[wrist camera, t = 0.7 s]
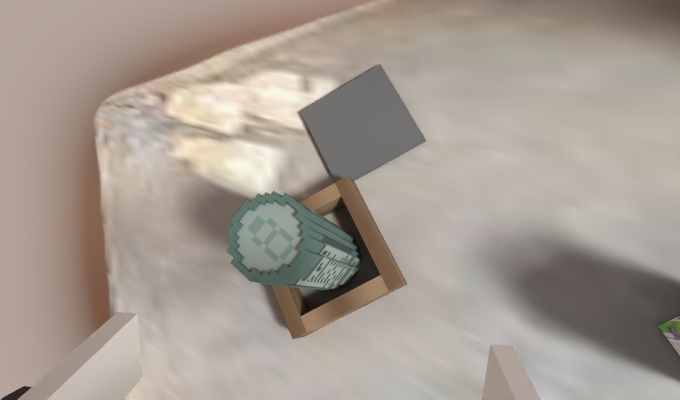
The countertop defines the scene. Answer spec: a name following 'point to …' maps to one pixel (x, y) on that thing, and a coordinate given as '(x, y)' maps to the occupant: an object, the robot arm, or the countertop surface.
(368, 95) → the mat
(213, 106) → the countertop surface
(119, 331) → the robot arm
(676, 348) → the syrup box
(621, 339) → the countertop surface
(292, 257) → the can
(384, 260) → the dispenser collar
